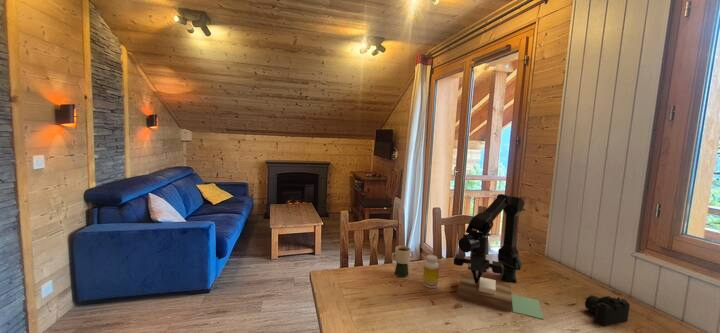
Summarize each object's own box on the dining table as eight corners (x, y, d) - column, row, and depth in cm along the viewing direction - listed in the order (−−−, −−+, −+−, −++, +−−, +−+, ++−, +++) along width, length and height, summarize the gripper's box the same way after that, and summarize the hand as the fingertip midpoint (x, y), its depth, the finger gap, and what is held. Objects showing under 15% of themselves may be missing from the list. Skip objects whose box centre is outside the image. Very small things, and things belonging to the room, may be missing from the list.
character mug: (409, 270, 146) (410, 244, 145) (415, 277, 139) (417, 250, 138) (388, 272, 143) (389, 246, 142) (393, 279, 136) (394, 251, 135)
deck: (460, 283, 135) (461, 274, 135) (509, 294, 127) (510, 285, 127) (456, 298, 122) (457, 288, 122) (511, 311, 114) (512, 301, 114)
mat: (511, 294, 127) (511, 294, 127) (538, 301, 123) (538, 300, 123) (512, 312, 114) (513, 311, 114) (543, 319, 110) (543, 318, 110)
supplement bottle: (438, 289, 129) (440, 260, 127) (422, 287, 130) (424, 259, 129) (437, 282, 135) (439, 254, 134) (422, 280, 137) (424, 253, 135)
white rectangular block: (479, 281, 129) (480, 277, 129) (495, 284, 127) (495, 280, 126) (478, 291, 121) (479, 286, 121) (495, 294, 119) (495, 289, 118)
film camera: (604, 307, 120) (607, 285, 119) (631, 321, 111) (635, 298, 110) (575, 312, 116) (578, 290, 115) (602, 327, 107) (605, 303, 106)
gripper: (453, 249, 120) (450, 286, 122) (504, 258, 113) (500, 298, 114) (456, 240, 131) (454, 275, 132) (503, 249, 123) (500, 285, 125)
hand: (476, 283), depth 126 cm, fingers closed
